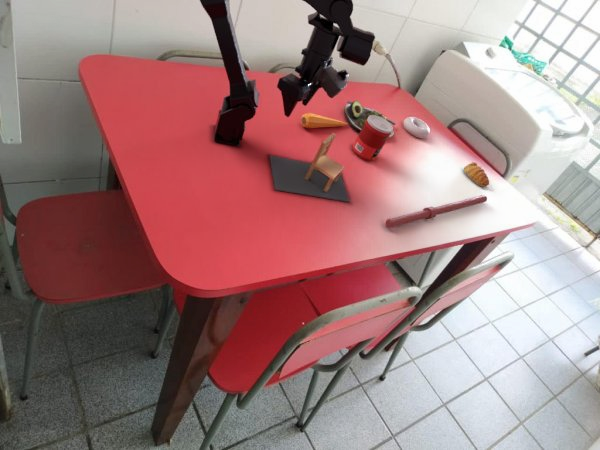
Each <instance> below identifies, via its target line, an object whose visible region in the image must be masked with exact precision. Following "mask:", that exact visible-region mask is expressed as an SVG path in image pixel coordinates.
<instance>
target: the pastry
mask: <svg viewBox="0 0 600 450" xmlns="http://www.w3.org/2000/svg"><path fill="white" fill-rule="evenodd" d="M463 171H464V174H466V175H467V177H468V178H469V180H471V181H472V182H473V183H475V184H476V185H477V186H480V187H483V188H486V187H488V186H489V185H490V180H489V177H488V174H487V173H486V172H485V169H484V168H482V166H481V165H479V164H478V163H477V162H475V161H472V162H469V163H468V164H466V166H464V167H463Z"/></svg>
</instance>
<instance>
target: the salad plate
mask: <svg viewBox="0 0 600 450" xmlns="http://www.w3.org/2000/svg"><path fill="white" fill-rule="evenodd" d="M346 103H347V104H346V105H345V106H344V109H343V111H344V114H343V115H344V117H345V120H346V123H347V124H350V125H349V126H350V127H351V128H352V130H353V131H355V132H356V133H358V134H359V133H360V131H361V129H362V127H363V126H364V124H365V122H366V120H367V118H368V117H369V116H370V115H376V116H379V117H382V118H384V119H385V120H387V121H388V122H389V123H390V124H391V125H392V126H396V122H395V121H393V120H391V119H389V118H387V116H384V115H383V113H380V112H379V111H377V110H376V109H373V108H368V107H364V106H363V105H362V103H361V102H360V101H359V100H354V101H351V100H347V101H346ZM394 133H395V132H394V131H392V133H391V134H390V136H389V138H392V137H393V136H395V135H394Z"/></svg>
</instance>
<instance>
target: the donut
mask: <svg viewBox="0 0 600 450" xmlns="http://www.w3.org/2000/svg"><path fill="white" fill-rule="evenodd" d="M403 128H404V130H406V132H408V133H409V134H410V135H411V136H413V137H416V138H419V139H424V138H427V137H428V136H429V135H430V131H431V130H430V127H429V125H428V124H427V123H426V122H425V121H423V120H422V119H420V118H418V117H416V116H408V117H406V118H405V119H404V120H403Z"/></svg>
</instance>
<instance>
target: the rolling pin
mask: <svg viewBox="0 0 600 450" xmlns="http://www.w3.org/2000/svg"><path fill="white" fill-rule="evenodd" d="M487 200H488V197H487V196H486V195H485V194H481V195H478V196H473V197H470V198H466V199H461V200H457V201H454V202H449V203H446V204H443V205H438V206H428V207H424V208H423V209H422V210H419V211H414V212H411V213H407V214H403V215H399V216H395V217H391V218H387V219H386V220H385V223H384V224H385V227H386V228H387V229H393V228H396V227H400V226H403V225H406V224H407V225H408V224H410V223H415V222H417V221H420V220H424V219H425V220H431V219H434V218H436V217H437V216H439V215H442V214H446V213H450V212H453V211H458V210H461V209H464V208H468V207H471V206H475V205H476V206H477V205H479V204H482V203H485V202H487Z"/></svg>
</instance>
